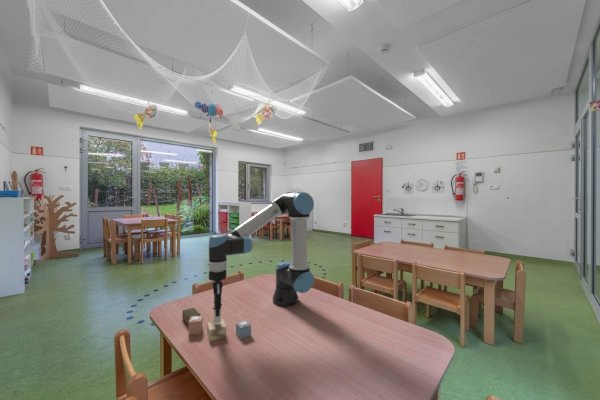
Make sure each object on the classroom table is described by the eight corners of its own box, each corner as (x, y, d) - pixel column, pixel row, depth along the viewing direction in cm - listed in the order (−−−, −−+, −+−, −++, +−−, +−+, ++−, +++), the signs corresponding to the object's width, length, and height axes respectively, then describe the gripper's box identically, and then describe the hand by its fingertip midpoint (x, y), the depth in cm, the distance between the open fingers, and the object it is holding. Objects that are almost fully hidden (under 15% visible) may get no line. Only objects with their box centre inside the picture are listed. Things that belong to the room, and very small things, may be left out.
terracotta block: (202, 328, 119) (202, 315, 119) (200, 334, 114) (200, 320, 114) (191, 329, 118) (191, 315, 118) (188, 335, 113) (188, 321, 113)
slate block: (246, 330, 117) (246, 319, 117) (250, 335, 113) (251, 323, 113) (235, 334, 114) (236, 322, 114) (240, 339, 110) (240, 327, 110)
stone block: (189, 328, 118) (189, 318, 118) (181, 319, 127) (181, 309, 127) (202, 324, 122) (202, 314, 122) (193, 315, 131) (193, 306, 131)
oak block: (223, 330, 118) (223, 319, 118) (226, 337, 111) (226, 326, 111) (207, 333, 115) (207, 322, 114) (209, 341, 108) (209, 330, 108)
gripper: (208, 266, 118) (208, 316, 118) (209, 275, 105) (208, 331, 106) (225, 265, 120) (224, 314, 121) (227, 273, 108) (227, 327, 109)
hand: (217, 322), depth 113 cm, fingers closed
